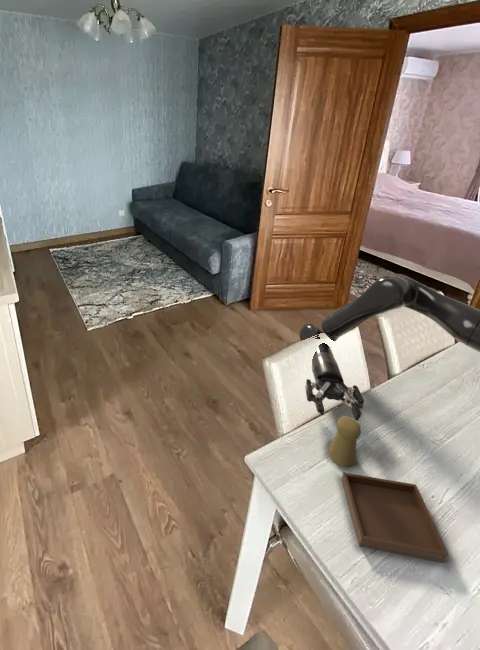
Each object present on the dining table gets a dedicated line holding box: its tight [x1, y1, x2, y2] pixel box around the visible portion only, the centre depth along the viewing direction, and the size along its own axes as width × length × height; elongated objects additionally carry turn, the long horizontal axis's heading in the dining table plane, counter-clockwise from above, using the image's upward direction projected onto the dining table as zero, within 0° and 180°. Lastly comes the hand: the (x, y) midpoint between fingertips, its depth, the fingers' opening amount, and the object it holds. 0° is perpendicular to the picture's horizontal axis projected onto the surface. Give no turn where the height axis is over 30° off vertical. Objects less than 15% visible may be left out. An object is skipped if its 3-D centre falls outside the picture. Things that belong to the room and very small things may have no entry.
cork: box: [327, 416, 362, 468], centre depth 83 cm, size 6×6×11 cm
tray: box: [341, 472, 449, 564], centre depth 72 cm, size 15×13×2 cm
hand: (340, 415), depth 88 cm, fingers open, 8 cm apart
